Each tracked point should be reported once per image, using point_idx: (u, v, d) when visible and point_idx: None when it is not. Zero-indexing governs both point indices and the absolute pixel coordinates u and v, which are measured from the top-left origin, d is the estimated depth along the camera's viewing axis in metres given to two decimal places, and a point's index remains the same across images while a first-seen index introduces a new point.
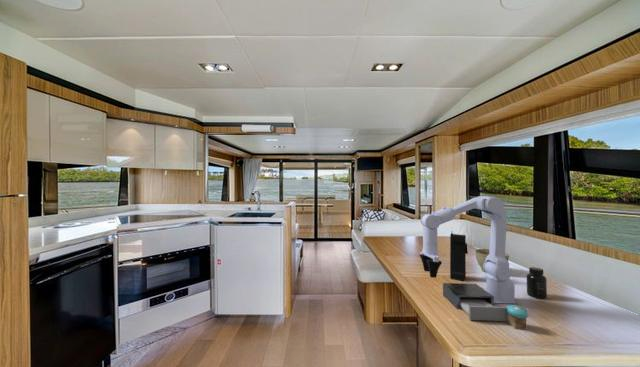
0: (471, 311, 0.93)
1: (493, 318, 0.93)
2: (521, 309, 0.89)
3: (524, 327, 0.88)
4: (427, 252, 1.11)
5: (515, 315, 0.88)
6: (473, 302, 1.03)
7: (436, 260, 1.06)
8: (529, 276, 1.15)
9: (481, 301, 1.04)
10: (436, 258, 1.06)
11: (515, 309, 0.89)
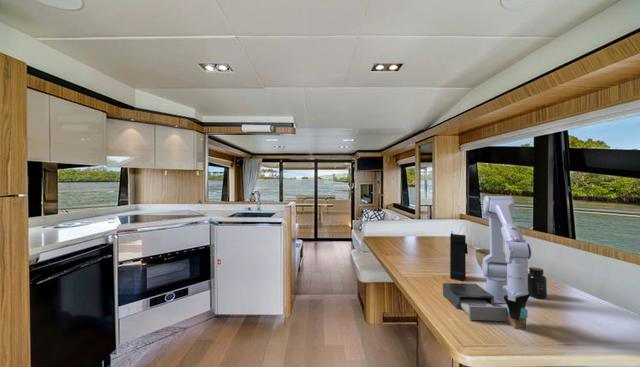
0: (471, 311, 0.93)
1: (493, 318, 0.93)
2: (521, 309, 0.89)
3: (524, 327, 0.88)
4: (509, 287, 0.90)
5: None
6: (473, 302, 1.03)
7: (511, 298, 0.86)
8: (529, 276, 1.15)
9: (481, 301, 1.04)
10: (511, 296, 0.86)
11: None
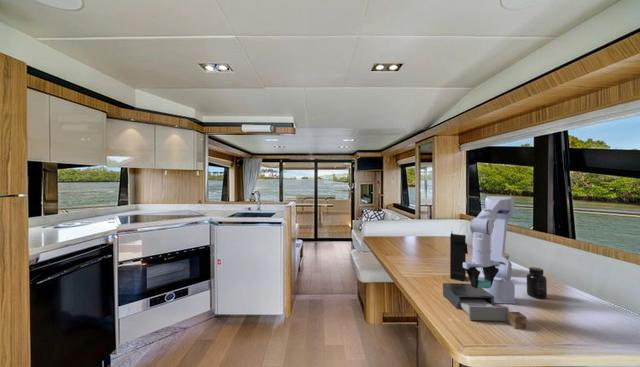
0: (471, 311, 0.93)
1: (493, 318, 0.93)
2: (484, 281, 0.97)
3: (524, 327, 0.88)
4: (472, 259, 1.00)
5: None
6: (473, 302, 1.03)
7: (464, 266, 0.97)
8: (529, 276, 1.15)
9: (481, 301, 1.04)
10: (464, 264, 0.97)
11: (478, 280, 0.98)
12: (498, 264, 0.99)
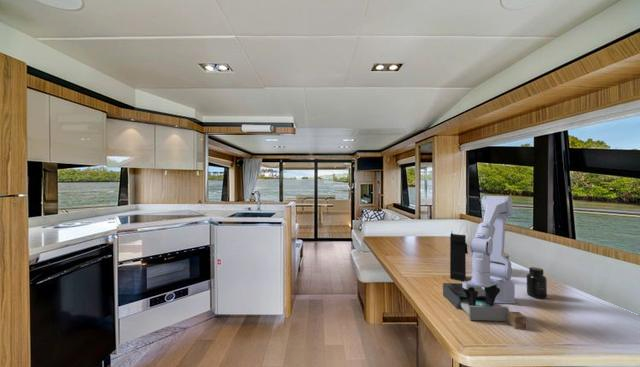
0: (471, 311, 0.93)
1: (493, 318, 0.93)
2: None
3: (524, 327, 0.88)
4: (472, 279, 1.00)
5: None
6: None
7: (464, 286, 0.97)
8: (529, 276, 1.15)
9: (481, 301, 1.04)
10: (464, 284, 0.97)
11: (477, 304, 0.98)
12: (498, 284, 0.99)
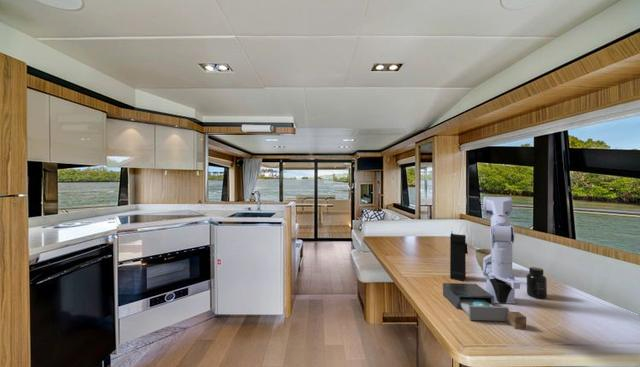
0: (471, 311, 0.93)
1: (493, 318, 0.93)
2: None
3: (524, 327, 0.88)
4: (500, 274, 0.86)
5: None
6: None
7: (516, 286, 0.81)
8: (529, 276, 1.15)
9: (481, 301, 1.04)
10: (516, 284, 0.81)
11: (477, 304, 0.98)
12: None
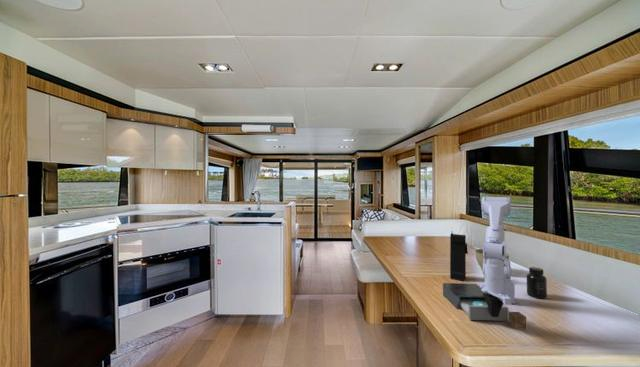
0: (471, 311, 0.93)
1: (493, 318, 0.93)
2: None
3: (524, 327, 0.88)
4: (492, 290, 0.90)
5: None
6: None
7: (508, 302, 0.85)
8: (529, 276, 1.15)
9: (481, 301, 1.04)
10: (508, 300, 0.85)
11: (477, 304, 0.98)
12: None
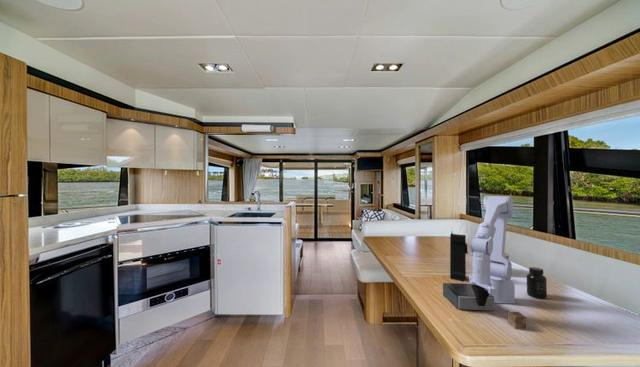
0: (460, 301, 1.01)
1: (480, 307, 1.01)
2: None
3: (524, 327, 0.88)
4: (479, 281, 0.98)
5: None
6: None
7: (492, 292, 0.93)
8: (529, 276, 1.15)
9: None
10: (492, 290, 0.93)
11: None
12: None
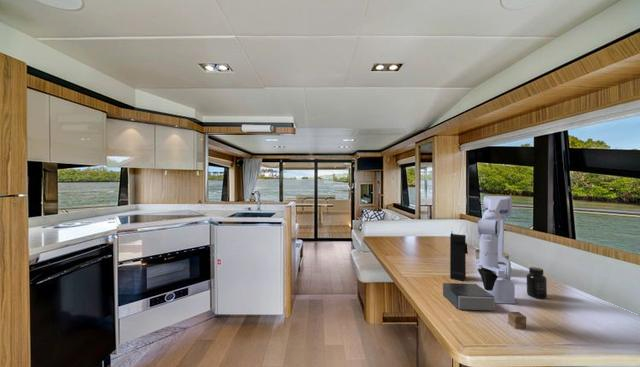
0: (460, 301, 1.01)
1: (480, 307, 1.01)
2: None
3: (524, 327, 0.88)
4: (486, 264, 0.93)
5: None
6: None
7: (501, 274, 0.88)
8: (529, 276, 1.15)
9: None
10: (501, 272, 0.88)
11: None
12: None
